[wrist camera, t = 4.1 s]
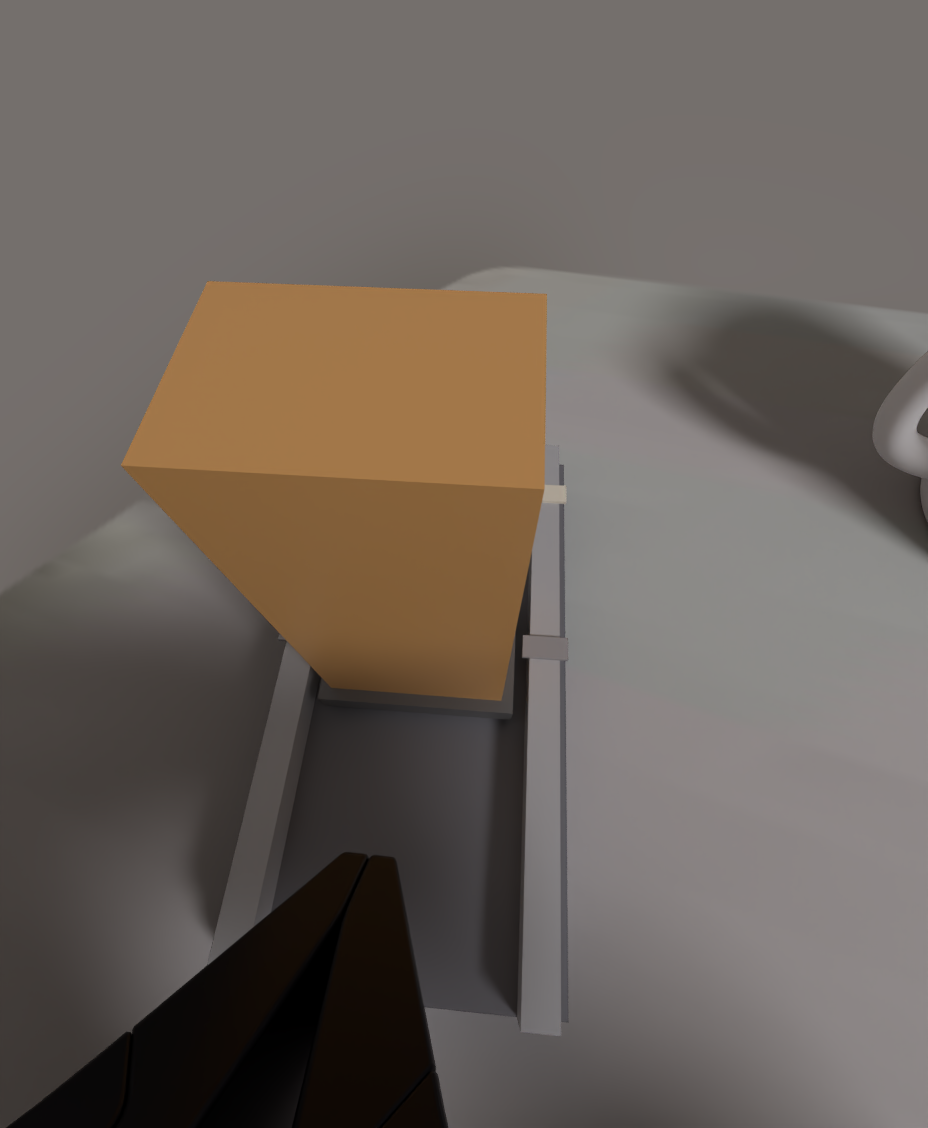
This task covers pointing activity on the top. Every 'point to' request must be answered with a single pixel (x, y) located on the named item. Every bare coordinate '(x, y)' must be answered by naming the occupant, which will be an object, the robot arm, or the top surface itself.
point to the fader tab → (363, 477)
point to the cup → (905, 426)
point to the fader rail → (434, 812)
